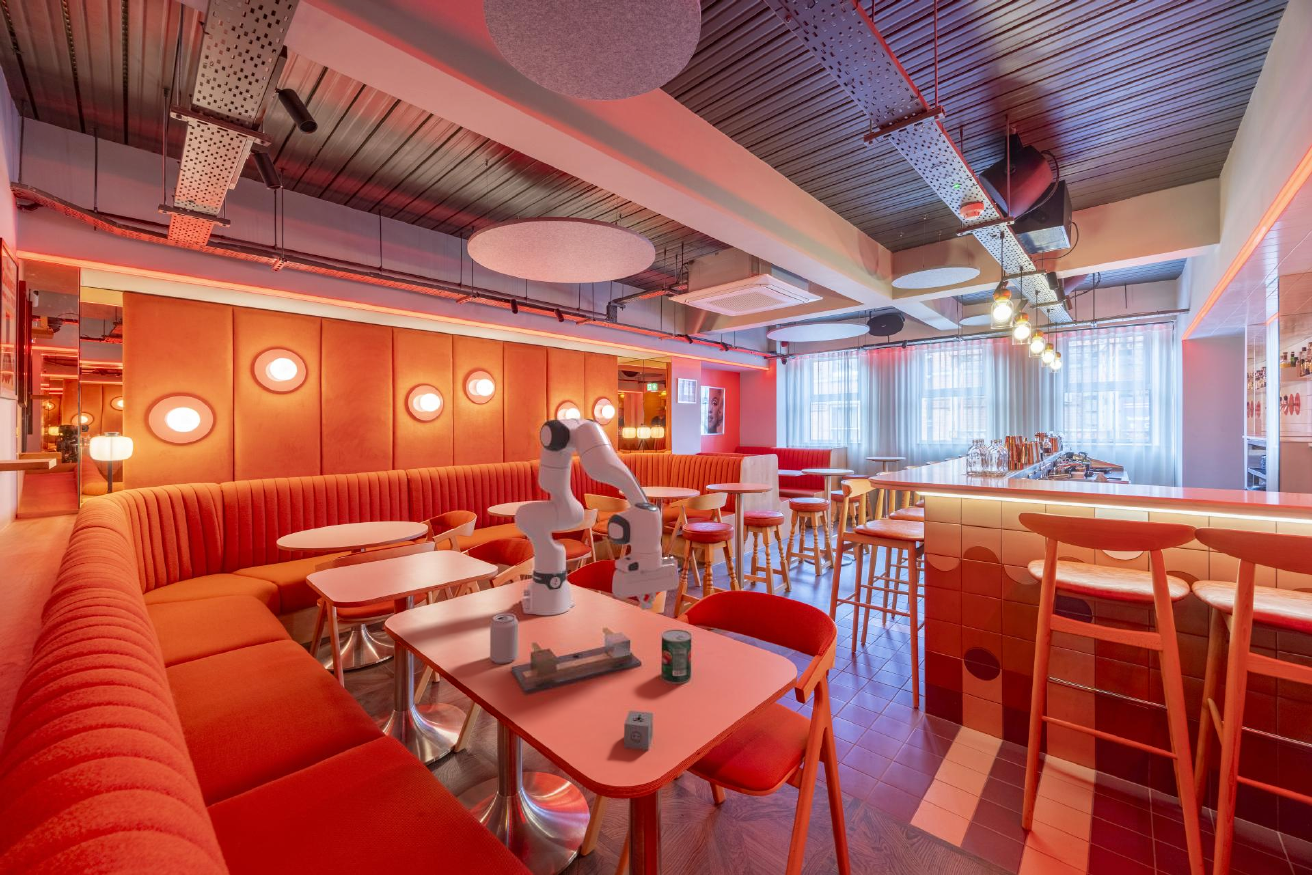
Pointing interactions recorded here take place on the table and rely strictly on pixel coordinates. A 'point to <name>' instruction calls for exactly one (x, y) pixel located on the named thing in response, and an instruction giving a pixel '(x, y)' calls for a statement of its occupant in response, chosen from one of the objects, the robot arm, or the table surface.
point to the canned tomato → (676, 656)
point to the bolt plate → (574, 674)
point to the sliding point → (616, 644)
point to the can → (503, 638)
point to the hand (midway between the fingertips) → (646, 608)
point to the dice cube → (638, 730)
